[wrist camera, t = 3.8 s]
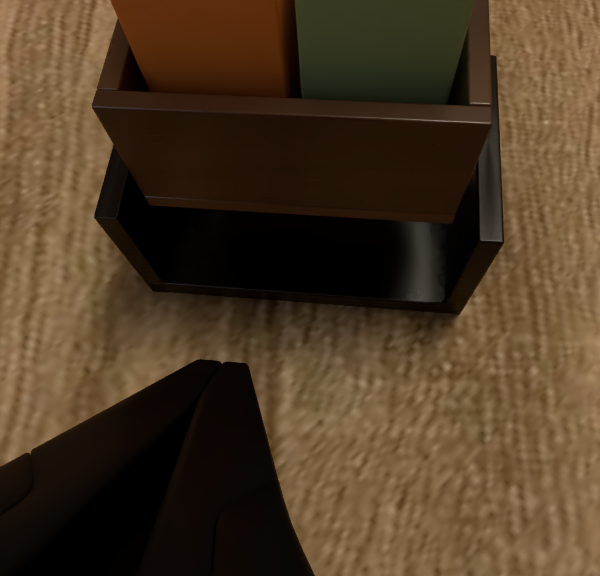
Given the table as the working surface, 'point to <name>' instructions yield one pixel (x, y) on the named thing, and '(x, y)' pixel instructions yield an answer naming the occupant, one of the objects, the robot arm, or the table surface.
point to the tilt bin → (301, 143)
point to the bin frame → (312, 246)
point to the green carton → (380, 48)
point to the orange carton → (214, 46)
